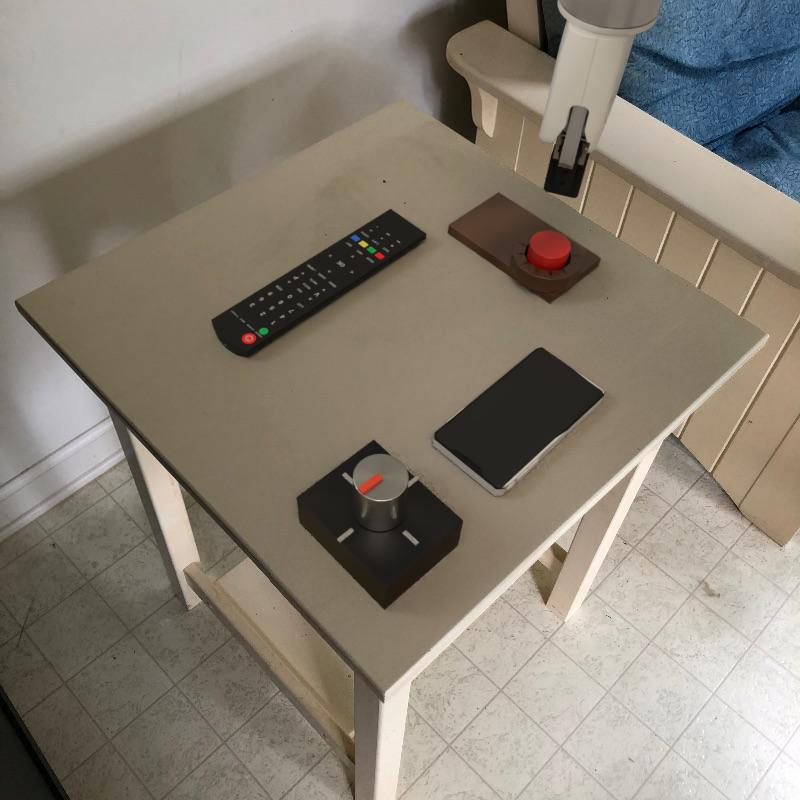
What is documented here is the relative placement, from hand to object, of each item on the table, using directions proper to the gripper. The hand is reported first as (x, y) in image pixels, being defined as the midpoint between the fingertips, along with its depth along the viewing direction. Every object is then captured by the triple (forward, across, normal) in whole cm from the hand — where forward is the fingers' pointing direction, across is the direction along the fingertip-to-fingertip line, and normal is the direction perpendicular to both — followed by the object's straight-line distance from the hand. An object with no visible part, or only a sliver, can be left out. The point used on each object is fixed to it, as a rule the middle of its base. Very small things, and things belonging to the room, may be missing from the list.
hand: (561, 189), depth 76 cm
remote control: (+11, +9, -20) cm, 25 cm away
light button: (+8, 0, 0) cm, 8 cm away
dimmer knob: (+7, +33, -6) cm, 35 cm away
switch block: (+11, -3, -2) cm, 11 cm away
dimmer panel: (+11, +33, -6) cm, 36 cm away
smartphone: (+11, +19, +2) cm, 22 cm away
